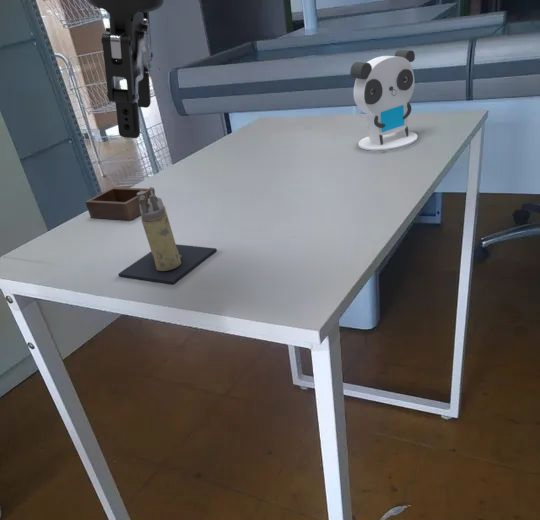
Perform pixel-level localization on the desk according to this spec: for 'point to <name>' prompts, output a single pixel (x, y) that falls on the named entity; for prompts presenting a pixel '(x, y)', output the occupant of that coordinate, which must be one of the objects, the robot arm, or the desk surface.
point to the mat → (148, 271)
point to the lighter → (158, 231)
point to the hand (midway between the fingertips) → (135, 120)
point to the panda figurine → (385, 99)
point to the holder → (116, 204)
